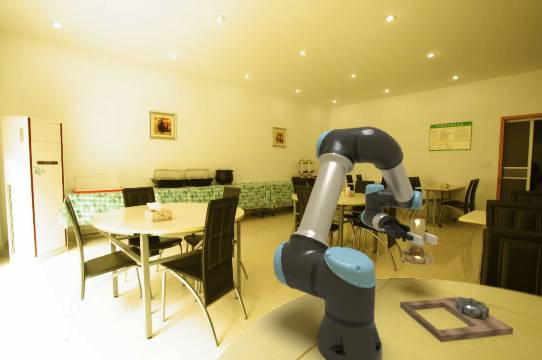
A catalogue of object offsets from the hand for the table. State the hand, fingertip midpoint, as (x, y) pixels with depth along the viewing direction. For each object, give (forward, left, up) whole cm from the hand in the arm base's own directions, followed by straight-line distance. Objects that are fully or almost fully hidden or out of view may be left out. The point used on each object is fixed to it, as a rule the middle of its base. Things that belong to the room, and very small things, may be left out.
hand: (428, 241), depth 82 cm
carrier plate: (0, -10, -20) cm, 22 cm away
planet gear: (0, +5, -8) cm, 10 cm away
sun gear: (+6, -10, -18) cm, 22 cm away
